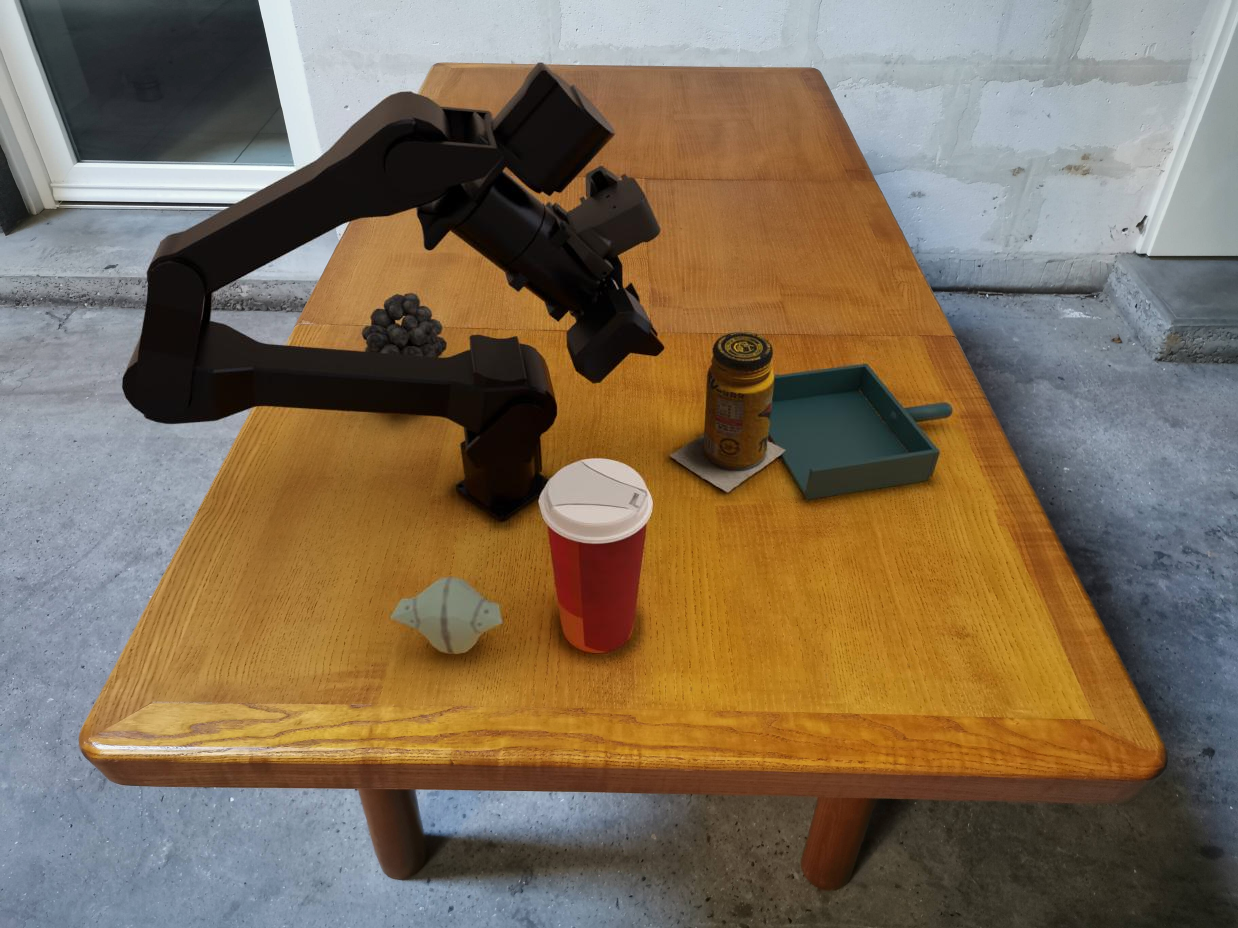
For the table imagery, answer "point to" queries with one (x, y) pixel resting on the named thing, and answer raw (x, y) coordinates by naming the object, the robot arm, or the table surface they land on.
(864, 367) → the teal dustpan
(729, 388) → the condiment
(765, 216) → the table surface
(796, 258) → the table surface
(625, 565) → the paper cup
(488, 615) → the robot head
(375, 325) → the fruit
